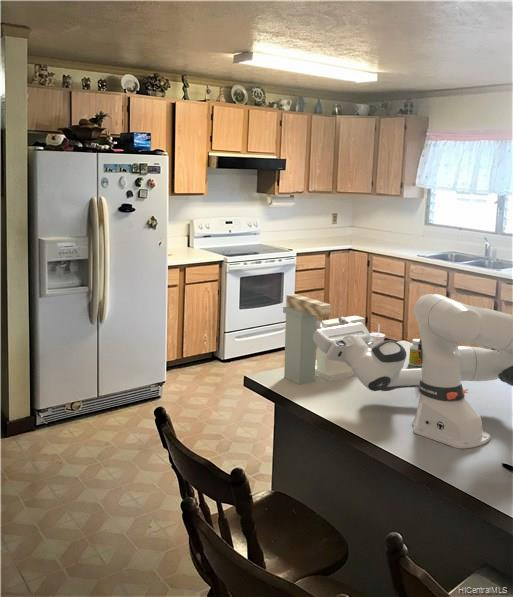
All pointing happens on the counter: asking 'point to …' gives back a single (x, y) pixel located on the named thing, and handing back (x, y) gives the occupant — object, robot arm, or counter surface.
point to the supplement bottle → (414, 353)
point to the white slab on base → (332, 367)
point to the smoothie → (377, 337)
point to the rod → (308, 305)
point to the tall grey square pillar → (299, 346)
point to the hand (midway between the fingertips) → (329, 319)
